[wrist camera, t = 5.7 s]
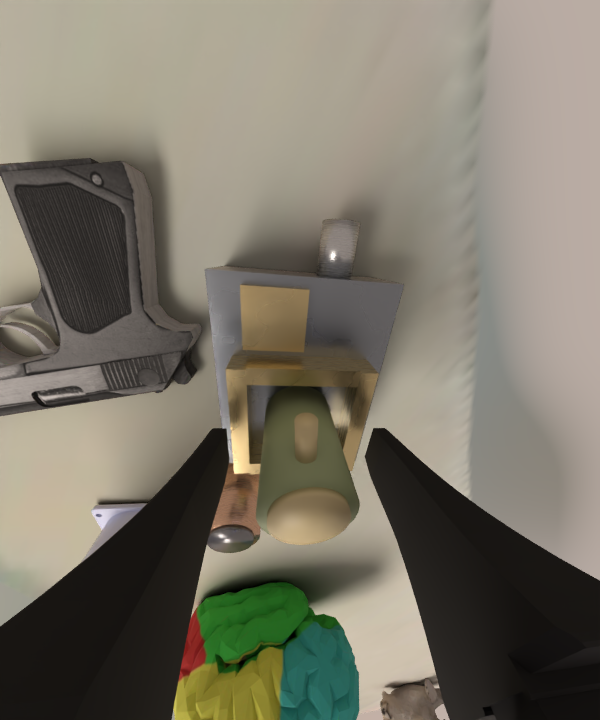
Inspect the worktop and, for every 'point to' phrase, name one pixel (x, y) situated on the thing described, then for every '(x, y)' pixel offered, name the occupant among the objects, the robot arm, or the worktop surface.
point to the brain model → (266, 660)
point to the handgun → (90, 289)
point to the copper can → (236, 514)
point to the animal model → (411, 702)
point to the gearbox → (299, 341)
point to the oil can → (303, 471)
